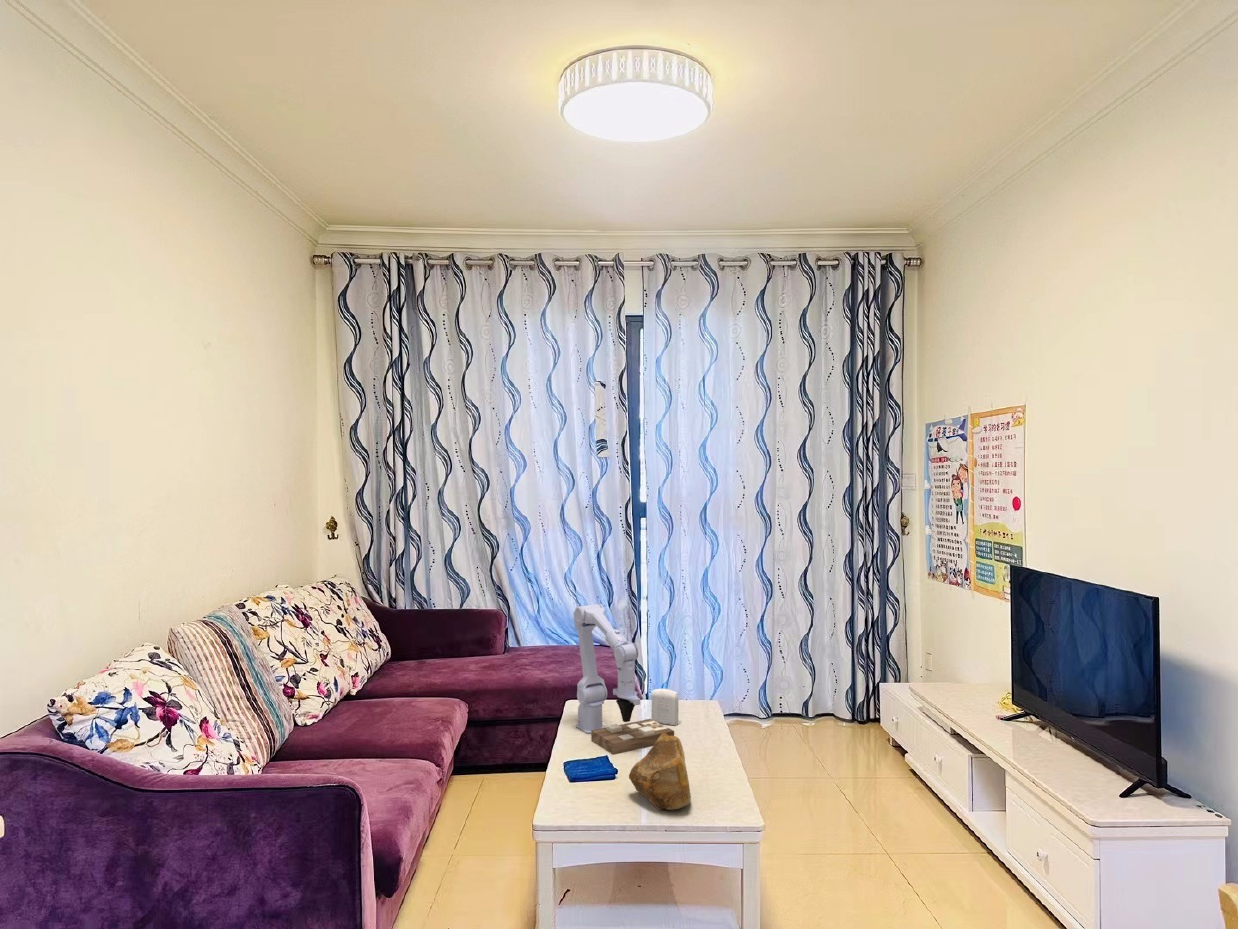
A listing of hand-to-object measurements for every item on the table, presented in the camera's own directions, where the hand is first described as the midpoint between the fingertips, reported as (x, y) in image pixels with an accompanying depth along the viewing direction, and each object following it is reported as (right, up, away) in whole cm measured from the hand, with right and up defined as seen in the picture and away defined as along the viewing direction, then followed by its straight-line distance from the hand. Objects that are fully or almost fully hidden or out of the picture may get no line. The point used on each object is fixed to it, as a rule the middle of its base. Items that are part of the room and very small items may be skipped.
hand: (626, 721), depth 250 cm
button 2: (0, -6, -1) cm, 6 cm away
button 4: (+7, -5, +3) cm, 9 cm away
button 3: (+3, -7, +10) cm, 12 cm away
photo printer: (+14, -9, +24) cm, 29 cm away
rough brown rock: (+9, -8, -40) cm, 41 cm away
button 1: (-4, -5, +6) cm, 9 cm away
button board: (+2, -9, +5) cm, 10 cm away
